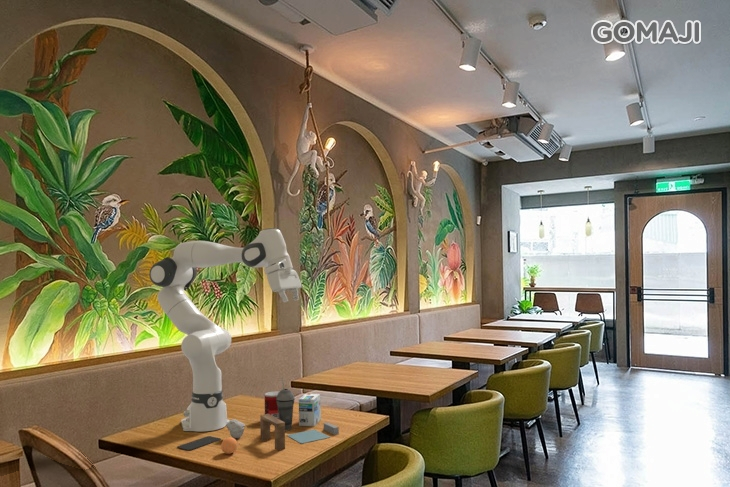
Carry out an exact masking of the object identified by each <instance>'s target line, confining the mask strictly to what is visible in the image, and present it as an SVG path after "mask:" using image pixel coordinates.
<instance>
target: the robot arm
mask: <svg viewBox="0 0 730 487" xmlns="http://www.w3.org/2000/svg"><path fill="white" fill-rule="evenodd" d="M289 254H290V253H288V251H287V244H286V240H285V239H284V236H283V234H282V231H281V230H280V229H278V228H276V227H275V228H274V227H269V228H263V229H262V230H260V232H259V233H258V235H257V236H256V237H255V238H254V239H253V240H252V241H251V242H250V243H248V244H246V245H245V246H244V247H236V246H231V245H230V246H229V245H226V244H222V243H217V242H213V241H207V240H191V241H185V242H181V243H179V244H177V245H176V246H175V248H174V250H173V256H172V257H170V256H169V257H168V256H166V257H164V258H163V259H161V260H159V261H157V262H156V263H154V264H152V265H151V267H150V269H149V273H148V274H149V275H148V276H149V280H150V282H151V283H152V284H153V285H155V286H157V287H161V289H160V290H159V292H158V293H157V297H156V298H157V302H158V303H159V306H160V308H161V309H162V311H163V312H164V313H165V315H166V316H167V317H168V319H169V320H170V321H171V322H172V324H173V325H174V326H175V328H176V329H177V330H178V331H179V332H181V333H183V334H186V336H185V337H184V338H183V339H182V341H181V345H180V347H181V352H182V354H183V356H184V357H186V358H187V359H188V361H189V364H190V368H191V370H192V392H191V399H190V400H191V403H190V404H189V405H188V407H187V408H186V410H184V411H183V417H185V418H182V419H180V420H181V421H180V422H181V423H180V425H181V426H182V430H183V431H184V432H199V433H200V432H210V431H217V430H221V429H223V428H225V427H227V425H226V424H227V423H228V422H230V420H231V419H229V418H228V414H227V404H226V402H225V401H224V400H223V398H224V397H223V396H224V393H223V389H222V388H223V387H222V382H223V381H222V377H223V376H222V373H223V372H222V370H221V369H220V367H218V365H217V363H216V359H215V357H216V355H219V354H222V353H224V352H225V351H227V350H228V349H229V348H230V346H231V344H232V335H231V334H230V332H229V330H227V329H225V328H223V327H220V326H218V324H216V323H215V322H213V321H212V320H210V319H209V318H208V316H205V314H203V313H202V312H201V310H199V309H198V307H197V306H196V305H195V304H194V302H193V301H192V300H191V298H189V297H188V295H187V294H186V292H185V290H188V289H189V288H190V287H191V284H192V283H193V282H195V279H196V277H197V272H198V271H197V269H198V268H199V269H203V268H212V267H213V268H214V267H218V266H224V265H228V264H235V263H236V264H237V263H241V264H243V263H244V265H245V266H246V267H249V268H264V269H263V270H264V274H265V275H266V279H267V281H268V284H269V288H270V290H271V291H272V292H273V293H274V292H275V293H278V295H279V296H280V298H281V300H282V302H283V303H287V302H289V301H290V300H289V297H288V296H287V294H286V292H287V291H291V292H292V299H293V301H294V302H296V301H299V300H300V297H299V289H301V288H302V283H301V282H302V281H301V279H300V277H299V273H298V272H297V271H296V270H295V269H294V266H293V263H292V259H291V256H290V255H289Z"/></svg>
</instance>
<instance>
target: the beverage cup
mask: <svg viewBox="0 0 730 487" xmlns="http://www.w3.org/2000/svg"><path fill="white" fill-rule="evenodd" d="M281 382H282V389H281V390H279V391H280V392H279V393H278V395H277V399H276V401H277V406H278V416H279V420H281V421H283V422H285V432H286V431H290V430H292V425H293V416H294V404H295V395H294V393H293V391H292V390H290V389H288V388H285V383H284V377H282V378H281Z"/></svg>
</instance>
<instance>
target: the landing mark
mask: <svg viewBox="0 0 730 487" xmlns="http://www.w3.org/2000/svg"><path fill="white" fill-rule="evenodd" d="M286 437H288V438H289V439H291V440H294V441H296V442H297V443H298V444H300V445H303V444H307V443H311V442H316V441H317V442H318V441H321V440H326V439H330V438H331V436H329V435H327V434H326V433H325V434H324V433H323V432H320V431H319V430H317V429H315V428H314V429H310V430H305V431H300V432H295V433H291V434H287V435H286Z"/></svg>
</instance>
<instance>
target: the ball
mask: <svg viewBox="0 0 730 487" xmlns="http://www.w3.org/2000/svg"><path fill="white" fill-rule="evenodd" d="M220 447H221V451H222V452H223V453H225V454H227V455H231V454H233V453H235V452H236V450H237V448H238V441H237V439H236V438H233V437H232V436H228V437H226V438H224V439H223V440H222V442H221V446H220Z"/></svg>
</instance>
